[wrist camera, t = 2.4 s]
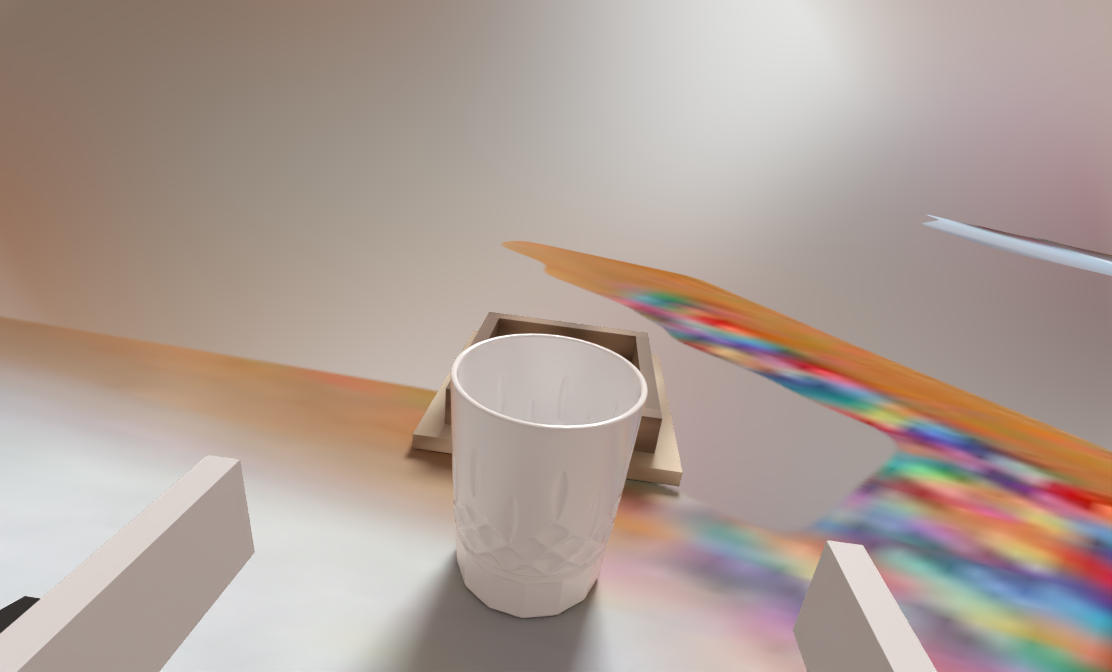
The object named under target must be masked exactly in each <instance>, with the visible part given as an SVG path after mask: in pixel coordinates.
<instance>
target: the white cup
mask: <svg viewBox="0 0 1112 672" xmlns="http://www.w3.org/2000/svg"><path fill="white" fill-rule="evenodd" d="M450 380H451V433H452V479H453V490H454V501H453V503H454V514H455V522H456V549H457V562H458V565H459V568H460V571H461V574H462V577H463V580H464V584H465V586H466V587H467V588H468V589H469V590H470V591H471V592H472V593H474V594H475V595H476V596H477V597H478V598H479V599H480V600H481V601H482V602H483V603H484V604H486V605H487V606H488V607H489V608H492V609H495V610H498V611H501V612H505V613H508V614H511V615H514V616H517V617H520V618H529V617H541V616H553V615H558V614H560V613H561V612H563V611H565V610H567V609H568V608H570V607H572V606H574V605H576V604H577V603H579V602H581V601H583V600H584V599H585V598H586V596H587V594H588V593H589V591H590V589H591V588H592V586H593V584H594V583H595V581H596V579H597V578H598V576H599V573H600V569H601V565H602V561H603V556H604V552H605V548H606V544H607V542H608V539H609V537H610V534H611V531H612V528H613V525H614V522H615V518H616V513H617V509H618V506H619V503H620V500H621V496H622V493H623V489H624V486H625V482H626V478H627V474H628V470H629V466H630V462H631V457H632V453H633V449H634V445H635V441H636V437H637V434H638V430H639V426H640V422H641V418H642V414H643V410H644V406H645V402H646V399H647V394H648V388H647V383H646V381H645V379H644V377H643V375H642V374H641V372H640V371H639V370H638V369H637V368H636V367H635V366H634V365H633V364H632V363H631V362H629V361H628V360H627V359H625V358H624V357H622V356H621V355H619V354H617V353H615V352H613V351H611V350H609V349H607V348H604V347H602V346H599V345H597V344H594V343H591V342H587V341H584V340H580V339H576V338H571V337H566V336H559V335H551V334H513V335H505V336H499V337H495V338H490V339H487V340H484V341H481V342H479V343H476V344H474V345H472V346H470V347H468V348H467V349H465V350H464V351H463V352H461V353H460V354H459V355H458V356H457V357H456V359H455V360H454V362H453V364H452V367H451V371H450Z"/></svg>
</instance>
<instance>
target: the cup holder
mask: <svg viewBox="0 0 1112 672" xmlns="http://www.w3.org/2000/svg"><path fill="white" fill-rule="evenodd" d="M513 334H551V335H559V336H566V337H571V338H576V339H580V340H584V341H587V342H591V343H594V344H597V345H599V346H602V347H604V348H607V349H609V350H611V351H613V352H615V353H617V354H619V355H621V356H622V357H624V358H625V359H627V360H628V361H629V362H631V363H632V364H633V365H634V366H635V367H636V368H637V369H638V370H639V371H640V372H641V374H642V375H643V377H644V379H645V381H646V383H647V388H648V394H647V399H646V402H645V406H644V410H643V414H642V418H641V422H640V426H639V430H638V434H637V437H636V441H635V445H634V449H633V453H632V457H631V462H630V466H629V470H628V474H627V478H626V479H632V480H639V481H646V482H653V483H660V484H667V485H674V486H679V485H680V480H681V476H682V468H681V463H680V458H679V453H678V448H677V443H676V438H675V433H674V428H673V423H672V418H671V413H670V408H669V403H668V398H667V393H666V388H665V383H664V378H663V373H662V368H661V363H660V358H659V355H652V354H651V350H650V344H649V338H648V333H643V332H636V331H629V330H621V329H614V328H606V327H598V326H591V325H583V324H576V323H567V322H561V321H552V320H546V319H538V318H531V317H523V316H516V315H508V314H500V313H493V312H489V314H488V315H487V317H486V319H485V321H484V322H483V324H482V326H481V328H480V329H479V331H473V333H472V335H471V337H470V338H469V340H468V342H467V343H466V345H465V347H464V348H463V350H462V352H463V351H464V350H465V349H467V348H468V347H470V346H472V345H474V344H476V343H479V342H481V341H484V340H487V339H490V338H495V337H499V336H505V335H513ZM450 371H451V370H450ZM413 448H416V449H423V450H430V451H437V452H444V453H451V454H452V433H451V380H450V372H449V374H448V376H447V377H446V379H445V381H444V382H443V384H442V386H441V387H440V389H439V391H438V392H437V394H436V396H435V397H434V399H433V401H432V403H431V404H430V406H429V408H428V409H427V411H426V413H425V414H424V416H423V418H422V419H421V421H420V423H419V425H418V426H417V428H416V430H415V431H414V433H413Z"/></svg>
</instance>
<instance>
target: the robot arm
mask: <svg viewBox="0 0 1112 672" xmlns="http://www.w3.org/2000/svg"><path fill="white" fill-rule="evenodd" d="M254 552H255V551H254V545H253V539H252V533H251V526H250V520H249V514H248V507H247V501H246V495H245V489H244V482H243V476H242V470H241V464H240V460H238V459H231V458H224V457H217V456H209V455H207V456H206V457H205V458H203V459H202V460H201V461H200V462H199V463H198V464H197V465H195V466H194V467H193V468H192V469H191V470H190V471H188V472H187V473H186V474H185V475H184V476H183V477H181V478H180V479H179V480H178V481H177V482H176V483H174V484H173V485H172V486H171V487H170V488H169V489H168V490H166V491H165V492H164V493H163V494H162V495H161V496H159V497H158V498H157V499H156V500H155V501H154V502H152V503H151V504H150V505H149V506H148V507H147V508H145V509H144V510H143V511H142V512H141V513H140V514H139V515H137V516H136V517H135V518H134V519H133V520H132V521H130V522H129V523H128V524H127V525H126V526H125V527H123V528H122V529H121V530H120V531H119V532H118V533H116V534H115V535H114V536H113V537H112V538H111V539H110V540H108V541H107V542H106V543H105V544H104V545H103V546H101V547H100V548H99V549H98V550H97V551H96V552H94V553H93V554H92V555H91V556H90V557H89V558H87V559H86V560H85V561H84V562H83V563H82V564H80V565H79V566H78V567H77V568H76V569H75V570H74V571H72V572H71V573H70V574H69V575H68V576H67V577H65V578H64V579H63V580H62V581H61V582H60V583H58V584H57V585H56V586H55V587H54V588H53V589H51V590H50V591H49V592H48V593H47V594H46V595H45V596H43V597H42V598H41V599H40V598H33V597H27V596H24V597H23V598H21V599H19V600H17V601H15V602H14V603H12V604H10V605H8V606H7V607H5V608H3V609H1V610H0V672H159V671H160V670H161V669H162V667H163V666H164V665H165V664H166V662H167V661H168V660H169V659H170V657H171V656H172V655H173V654H174V652H175V651H176V650H177V649H178V647H179V646H180V645H181V644H182V642H183V641H184V640H185V639H186V637H187V636H188V635H189V634H190V632H191V631H192V630H193V629H194V627H195V626H196V625H197V624H198V622H199V621H200V620H201V619H202V617H203V616H204V615H205V614H206V612H207V611H208V610H209V609H210V607H211V606H212V605H213V604H214V602H215V601H216V600H217V599H218V597H219V596H220V595H221V594H222V592H223V591H224V590H225V589H226V587H227V586H228V585H229V584H230V582H231V581H232V580H233V579H234V577H235V576H236V575H237V574H238V572H239V571H240V570H241V569H242V567H243V566H244V565H245V564H246V562H247V561H248V560H249V559H250V557H251V556H252V555H253V554H254ZM793 632H794V635H795V638H796V641H797V644H798V646H799V649H800V652H801V655H802V658H803V660H804V663H805V666H806V669H807V672H937V671H936V669H935V667H934V666H933V664H932V662H931V661H930V659H929V657H928V655H927V654H926V652H925V650H924V649H923V647H922V645H921V644H920V642H919V640H918V638H917V637H916V635H915V633H914V632H913V630H912V628H911V627H910V625H909V623H908V621H907V620H906V618H905V616H904V615H903V613H902V611H901V609H900V608H899V606H898V604H897V603H896V601H895V599H894V598H893V596H892V594H891V592H890V591H889V589H888V587H887V586H886V584H885V582H884V581H883V579H882V577H881V575H880V574H879V572H878V570H877V569H876V567H875V565H874V564H873V562H872V560H871V558H870V557H869V555H868V553H867V552H866V550H865V548H864V547H863V545H856V544H849V543H842V542H835V541H826V544H825V547H824V549H823V552H822V554H821V557H820V560H819V562H818V565H817V568H816V570H815V573H814V575H813V578H812V581H811V583H810V586H809V589H808V591H807V594H806V596H805V599H804V602H803V604H802V607H801V610H800V612H799V615H798V617H797V620H796V623H795V625H794V628H793Z"/></svg>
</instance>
